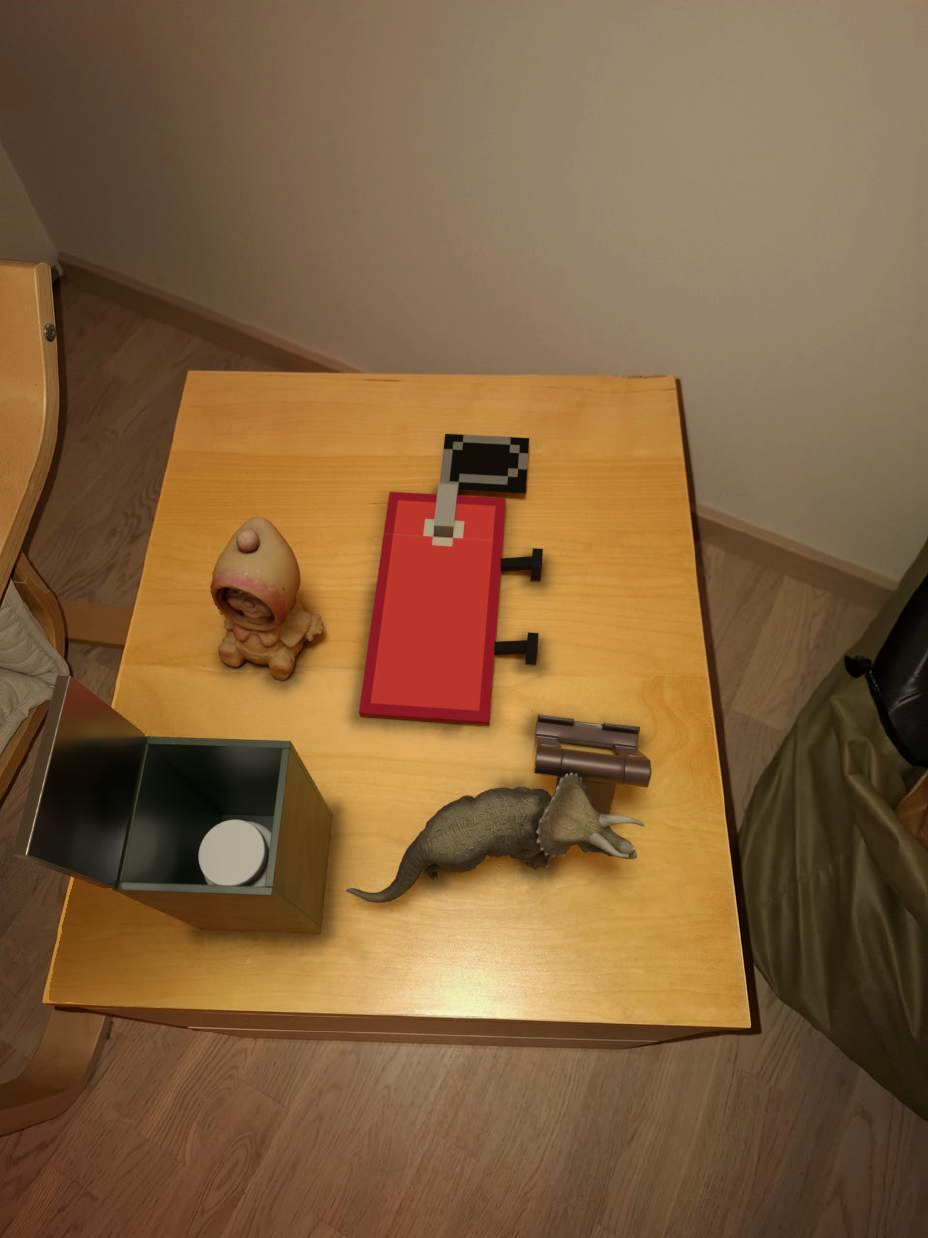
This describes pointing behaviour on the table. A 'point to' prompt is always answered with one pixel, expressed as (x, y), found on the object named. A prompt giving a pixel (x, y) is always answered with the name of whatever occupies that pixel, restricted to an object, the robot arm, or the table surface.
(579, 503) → the table surface
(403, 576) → the red board with handle
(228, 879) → the pill bottle
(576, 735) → the tablet stand
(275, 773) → the trash can
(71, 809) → the trash can lid
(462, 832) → the toy dinosaur
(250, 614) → the figurine
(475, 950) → the table surface
